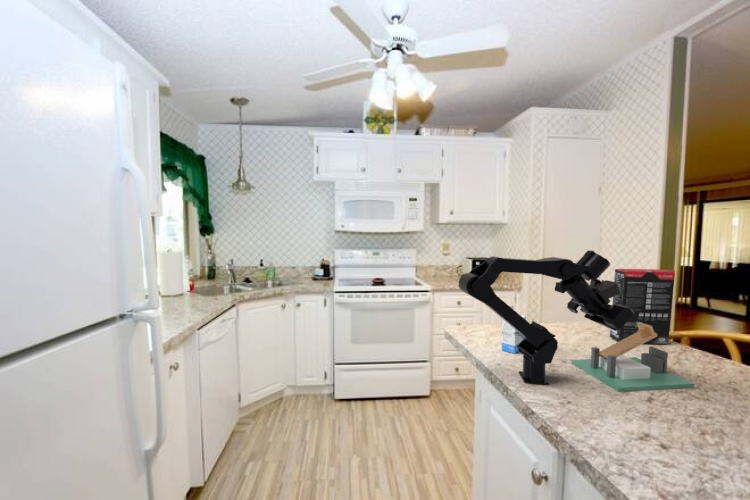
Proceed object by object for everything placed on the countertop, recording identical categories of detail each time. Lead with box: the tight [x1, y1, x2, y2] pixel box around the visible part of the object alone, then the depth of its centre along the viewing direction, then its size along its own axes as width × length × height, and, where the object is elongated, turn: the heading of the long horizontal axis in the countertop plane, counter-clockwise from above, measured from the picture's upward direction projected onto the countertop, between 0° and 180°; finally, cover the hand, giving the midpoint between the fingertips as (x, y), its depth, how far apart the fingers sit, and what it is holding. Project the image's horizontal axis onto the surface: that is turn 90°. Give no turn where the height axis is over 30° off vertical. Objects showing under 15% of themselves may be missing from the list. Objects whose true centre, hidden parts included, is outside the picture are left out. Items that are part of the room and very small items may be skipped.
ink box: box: [501, 305, 527, 355], centre depth 116 cm, size 8×5×15 cm, turn 134°
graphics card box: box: [609, 268, 676, 346], centre depth 122 cm, size 17×7×27 cm, turn 84°
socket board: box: [570, 346, 695, 392], centre depth 96 cm, size 22×18×7 cm
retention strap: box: [598, 322, 657, 360], centre depth 96 cm, size 16×4×4 cm, turn 95°
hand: (615, 329), depth 95 cm, fingers closed
